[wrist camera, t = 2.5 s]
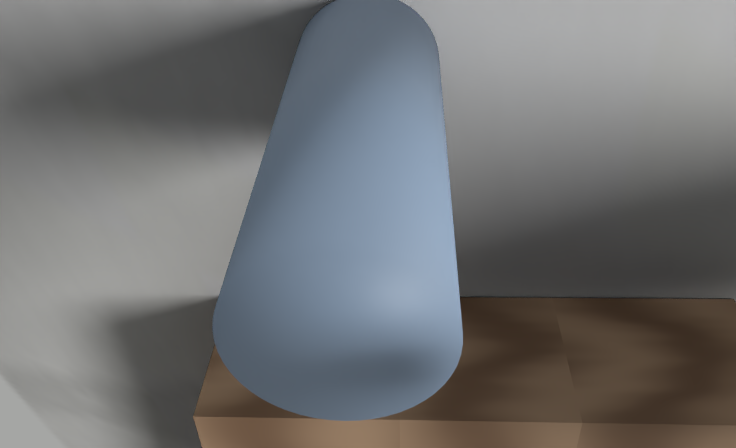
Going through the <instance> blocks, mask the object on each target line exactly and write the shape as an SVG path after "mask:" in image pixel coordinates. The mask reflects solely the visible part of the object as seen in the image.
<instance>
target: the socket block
mask: <svg viewBox="0 0 736 448" xmlns="http://www.w3.org/2000/svg"><path fill="white" fill-rule="evenodd" d="M460 307H461V318H462V330H463V346H462V352H461V356H460V359H459V362H458V365H457V367H456V369H455V370H454V372H453V374H452V376H451V377H450V378H449V379H448V381H447V382H446V383H445V384H444V385H443V386H442V387H441V388H440V389H439V390H438V391H437V392H436V393H435V394H433V395H432V396H430V397H429V398H428V399H426V400H425V401H423V402H421V403H419V404H418V405H416V406H414V407H412V408H409V409H407V410H405V411H402V412H399V413H396V414H393V415H389V416H386V417H381V418H376V419H369V420H359V421H336V420H325V419H318V418H312V417H308V416H303V415H299V414H296V413H293V412H290V411H287V410H284V409H282V408H280V407H277V406H275V405H273V404H271V403H269V402H267V401H265V400H263V399H261V398H260V397H258V396H257V395H255V394H254V393H252V392H251V391H249V390H248V389H247V388H246V387H245V386H243V385H242V384H241V383H240V382H239V381H238V380H237V379H236V378H235V377H234V376H233V375H232V374H231V373H230V371H229V370H228V369H227V367H226V366H225V364H224V363H223V361H222V359H221V357H220V355H219V354H218V351H217V348H216V345H214V348H213V352H212V355H211V358H210V362H209V365H208V368H207V372H206V375H205V379H204V382H203V385H202V389H201V392H200V395H199V399H198V402H197V405H196V409H195V412H194V415H193V418H194V421H195V425H196V428H197V432H198V435H199V439H200V442H201V446H202V448H736V303H735V301H734V299H644V298H488V297H460Z"/></svg>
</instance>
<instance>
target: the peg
mask: <svg viewBox="0 0 736 448" xmlns="http://www.w3.org/2000/svg"><path fill="white" fill-rule="evenodd" d="M212 330H213V337H214V342H215V345H216V348H217V351H218V354H219V355H220V357H221V359H222V361H223V363H224V364H225V366H226V367H227V369H228V370H229V371H230V373H231V374H232V375H233V376H234V377H235V378H236V379H237V380H238V381H239V382H240V383H241V384H242V385H243V386H245V387H246V388H247V389H248V390H249V391H251V392H252V393H254V394H255V395H257V396H258V397H260V398H261V399H263V400H265V401H267V402H269V403H271V404H273V405H275V406H277V407H280V408H282V409H284V410H287V411H290V412H293V413H296V414H299V415H303V416H308V417H312V418H318V419H325V420H336V421H359V420H369V419H376V418H381V417H386V416H389V415H393V414H396V413H399V412H402V411H405V410H407V409H409V408H412V407H414V406H416V405H418V404H419V403H421V402H423V401H425V400H426V399H428V398H429V397H430V396H432V395H433V394H435V393H436V392H437V391H438V390H439V389H440V388H441V387H442V386H443V385H444V384H445V383H446V382H447V381H448V379H449V378H450V377H451V376H452V374H453V372H454V370H455V369H456V367H457V365H458V362H459V359H460V356H461V352H462V346H463V330H462V318H461V307H460V295H459V283H458V272H457V260H456V249H455V237H454V226H453V214H452V202H451V191H450V179H449V168H448V156H447V144H446V133H445V121H444V110H443V98H442V87H441V75H440V63H439V53H438V48H437V44H436V41H435V38H434V35H433V33H432V31H431V29H430V28H429V26H428V25H427V23H426V22H425V21H424V19H423V18H422V17H421V16H420V15H419V14H418V13H417V12H416V11H414V10H413V9H412V8H411V7H409V6H408V5H406V4H405V3H403V2H401V1H399V0H335V1H333V2H331V3H329V4H328V5H326V6H325V7H323V8H322V9H321V10H320V11H319V12H317V13H316V14H315V15H314V16H313V18H312V19H311V20H310V21H309V23H308V24H307V26H306V28H305V29H304V31H303V34H302V36H301V39H300V42H299V45H298V48H297V51H296V54H295V57H294V60H293V64H292V67H291V70H290V73H289V76H288V79H287V83H286V86H285V89H284V92H283V95H282V98H281V101H280V105H279V108H278V111H277V114H276V117H275V120H274V124H273V127H272V130H271V133H270V136H269V139H268V143H267V146H266V149H265V152H264V155H263V158H262V161H261V165H260V168H259V171H258V174H257V177H256V180H255V184H254V187H253V190H252V193H251V196H250V199H249V202H248V206H247V209H246V212H245V215H244V218H243V221H242V225H241V228H240V231H239V234H238V237H237V240H236V243H235V247H234V250H233V253H232V256H231V259H230V262H229V266H228V269H227V272H226V275H225V278H224V281H223V284H222V288H221V291H220V294H219V297H218V300H217V303H216V307H215V311H214V315H213V327H212Z"/></svg>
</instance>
